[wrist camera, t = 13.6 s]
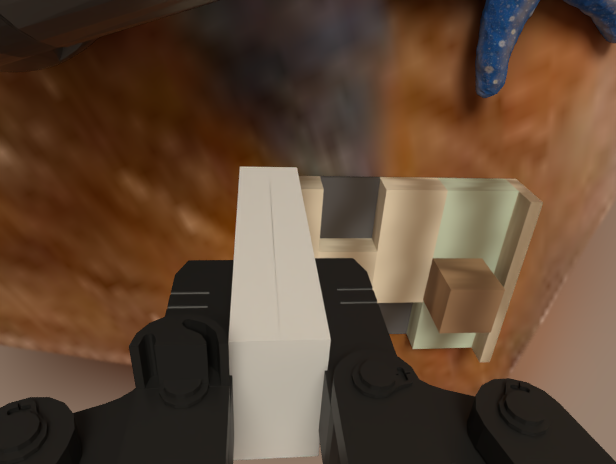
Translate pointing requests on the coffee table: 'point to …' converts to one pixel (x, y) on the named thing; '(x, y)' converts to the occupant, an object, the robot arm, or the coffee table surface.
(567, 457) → the robot arm
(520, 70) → the coffee table surface
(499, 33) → the starfish
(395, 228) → the board
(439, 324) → the walnut cube
